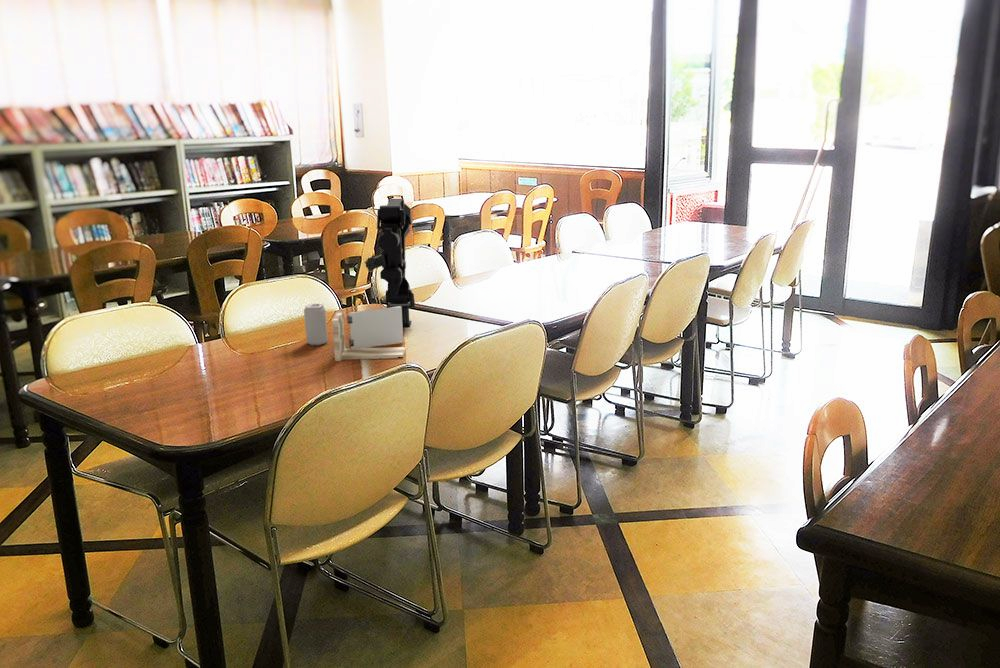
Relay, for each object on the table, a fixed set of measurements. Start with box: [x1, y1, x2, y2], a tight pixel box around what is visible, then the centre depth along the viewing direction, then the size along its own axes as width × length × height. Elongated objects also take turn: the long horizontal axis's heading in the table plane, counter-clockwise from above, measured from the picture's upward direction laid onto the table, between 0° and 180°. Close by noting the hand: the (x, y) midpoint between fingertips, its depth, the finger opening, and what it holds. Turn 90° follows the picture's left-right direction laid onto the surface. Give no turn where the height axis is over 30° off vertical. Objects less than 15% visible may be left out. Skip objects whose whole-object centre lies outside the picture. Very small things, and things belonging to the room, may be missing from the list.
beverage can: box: [303, 303, 329, 346], centre depth 246 cm, size 6×6×12 cm
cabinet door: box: [346, 306, 404, 348], centre depth 240 cm, size 2×17×11 cm, turn 117°
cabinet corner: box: [331, 311, 406, 362], centre depth 232 cm, size 10×19×12 cm, turn 92°
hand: (395, 296), depth 250 cm, fingers open, 5 cm apart
